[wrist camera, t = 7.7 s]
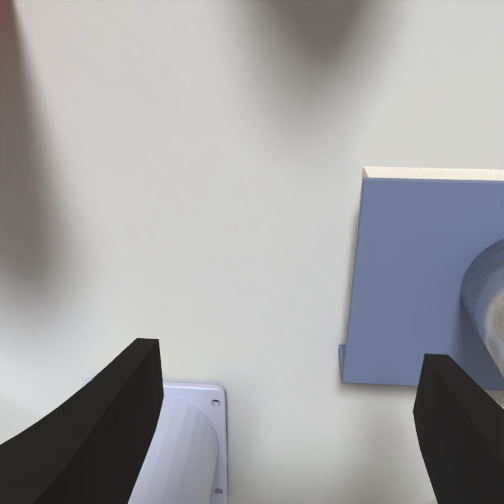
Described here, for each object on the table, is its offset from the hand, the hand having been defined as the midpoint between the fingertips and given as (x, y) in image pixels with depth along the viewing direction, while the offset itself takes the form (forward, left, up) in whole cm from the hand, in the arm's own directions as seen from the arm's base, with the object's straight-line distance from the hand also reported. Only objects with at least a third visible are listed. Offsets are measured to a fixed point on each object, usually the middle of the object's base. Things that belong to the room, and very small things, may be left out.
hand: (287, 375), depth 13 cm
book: (-2, -10, -11) cm, 15 cm away
